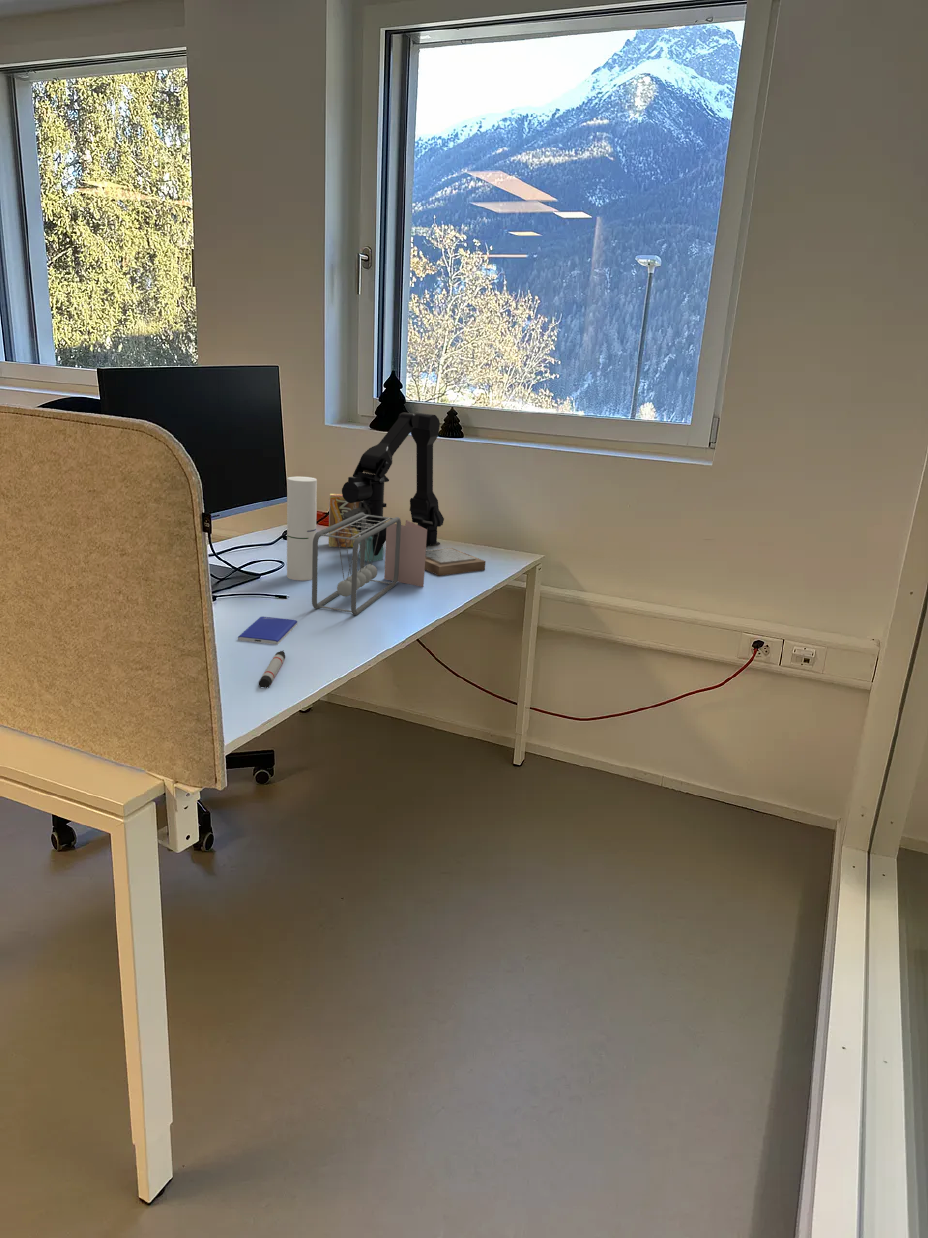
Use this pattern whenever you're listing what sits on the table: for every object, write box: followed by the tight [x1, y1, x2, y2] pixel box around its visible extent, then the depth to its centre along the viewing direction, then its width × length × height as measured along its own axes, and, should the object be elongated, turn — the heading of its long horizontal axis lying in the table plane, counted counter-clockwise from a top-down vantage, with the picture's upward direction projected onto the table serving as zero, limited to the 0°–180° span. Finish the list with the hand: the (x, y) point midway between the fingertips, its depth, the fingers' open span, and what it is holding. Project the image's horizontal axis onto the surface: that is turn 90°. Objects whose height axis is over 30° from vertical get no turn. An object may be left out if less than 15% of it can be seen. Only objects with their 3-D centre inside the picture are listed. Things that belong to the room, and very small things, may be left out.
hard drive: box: [237, 616, 298, 646], centre depth 160 cm, size 2×8×12 cm
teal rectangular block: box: [358, 536, 384, 562], centre depth 220 cm, size 4×5×6 cm
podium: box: [425, 547, 486, 576], centre depth 220 cm, size 16×16×3 cm
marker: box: [258, 650, 286, 689], centre depth 141 cm, size 15×2×2 cm, turn 0°
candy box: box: [328, 493, 360, 548], centre depth 230 cm, size 9×4×15 cm, turn 103°
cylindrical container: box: [286, 475, 318, 581], centre depth 195 cm, size 7×7×25 cm
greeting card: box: [383, 519, 427, 588], centre depth 199 cm, size 11×7×15 cm, turn 32°
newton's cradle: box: [311, 512, 402, 616], centre depth 184 cm, size 30×10×18 cm, turn 166°
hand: (371, 553), depth 220 cm, fingers closed on teal rectangular block, 4 cm apart
